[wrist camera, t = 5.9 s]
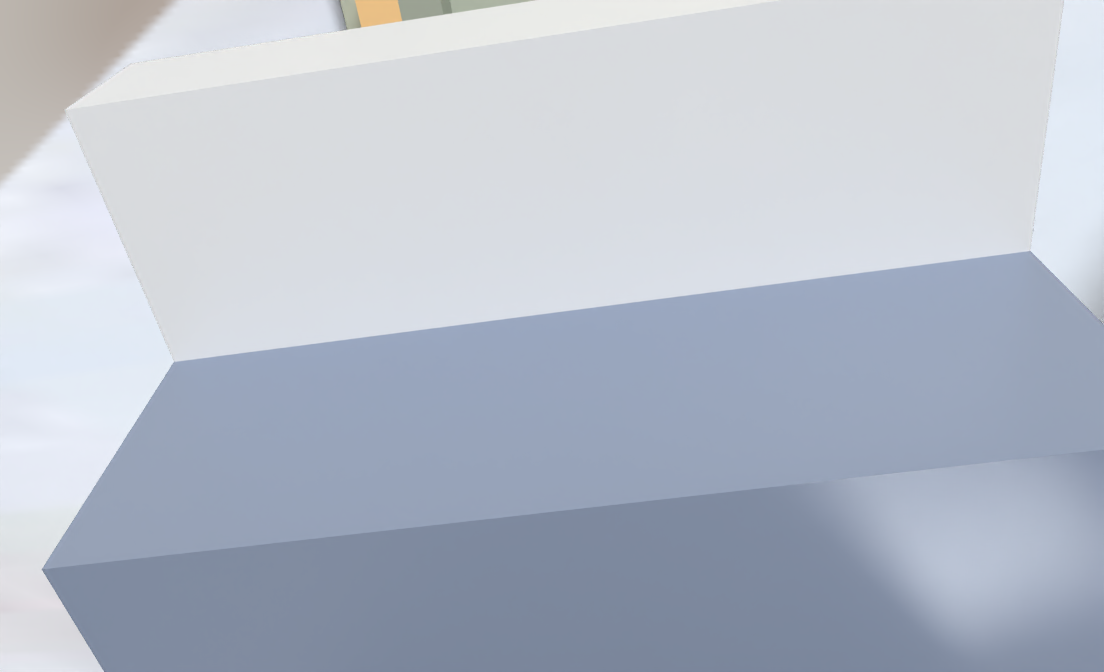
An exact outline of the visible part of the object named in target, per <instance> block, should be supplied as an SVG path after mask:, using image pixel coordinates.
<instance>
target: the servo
mask: <svg viewBox="0 0 1104 672" xmlns="http://www.w3.org/2000/svg"><path fill="white" fill-rule="evenodd" d="M1063 4H1064V0H534V1H528V2H522V3H515V4H509V5H502V6H496V7H490V8H483V9H477V10H470V11H464V12H458V13H451V14H445V15H438V16H432V17H426V18H419V19H413V20H407V21H400V22H394V23H387V24H381V25H375V26H368V27H362V28H355V29H349V30H343V31H336V32H330V33H323V34H317V35H311V36H304V37H298V38H291V39H285V40H279V41H272V42H266V43H259V44H253V45H247V46H240V47H234V48H227V49H221V50H215V51H208V52H202V53H195V54H189V55H183V56H176V57H170V58H163V59H157V60H151V61H144V62H138V63H131V64H130V65H128V66H127V67H125V68H124V69H122V70H121V71H120V72H118V73H117V74H115V75H114V76H112V77H111V78H109V79H108V80H107V81H105V82H104V83H102V84H101V85H99V86H98V87H97V88H95V89H94V90H92V91H91V92H89V93H88V94H87V95H85V96H84V97H82V98H81V99H79V100H78V101H77V102H75V103H74V104H72V105H71V106H69V107H68V108H67V109H65V112H66V114H67V117H68V119H69V121H70V124H71V126H72V128H73V130H74V133H75V135H76V137H77V140H78V142H79V144H80V147H81V149H82V151H83V153H84V156H85V158H86V160H87V163H88V165H89V167H90V170H91V172H92V174H93V176H94V179H95V181H96V183H97V186H98V188H99V190H100V193H101V195H102V197H103V199H104V202H105V204H106V206H107V209H108V211H109V213H110V216H111V218H112V220H113V222H114V225H115V227H116V229H117V232H118V234H119V236H120V239H121V241H122V243H123V245H124V248H125V250H126V252H127V255H128V257H129V259H130V262H131V264H132V266H133V268H134V271H135V273H136V275H137V278H138V280H139V282H140V285H141V287H142V289H143V291H144V294H145V296H146V298H147V301H148V303H149V305H150V308H151V310H152V312H153V314H154V317H155V319H156V321H157V324H158V326H159V328H160V331H161V333H162V335H163V337H164V340H165V342H166V344H167V347H168V349H169V351H170V354H171V356H172V358H173V360H174V363H173V365H172V366H171V368H170V369H169V371H168V372H167V374H166V375H165V377H164V379H163V380H162V382H161V383H160V385H159V386H158V388H157V390H156V391H155V393H154V394H153V396H152V397H151V399H150V401H149V402H148V404H147V405H146V407H145V408H144V410H143V412H142V413H141V415H140V416H139V418H138V419H137V421H136V423H135V424H134V426H133V427H132V429H131V430H130V432H129V434H128V435H127V437H126V438H125V440H124V441H123V443H122V445H121V446H120V448H119V449H118V451H117V452H116V454H115V455H114V457H113V459H112V460H111V462H110V463H109V465H108V466H107V468H106V470H105V471H104V473H103V474H102V476H101V477H100V479H99V481H98V482H97V484H96V485H95V487H94V488H93V490H92V492H91V493H90V495H89V496H88V498H87V499H86V501H85V503H84V504H83V506H82V507H81V509H80V510H79V512H78V514H77V515H76V517H75V518H74V520H73V521H72V523H71V524H70V526H69V528H68V529H67V531H66V532H65V534H64V535H63V537H62V539H61V540H60V542H59V543H58V545H57V546H56V548H55V550H54V551H53V553H52V554H51V556H50V557H49V559H48V561H47V562H46V564H45V565H44V567H43V568H42V570H43V572H44V574H45V575H46V577H47V579H48V580H49V582H50V584H51V585H52V587H53V588H54V590H55V592H56V593H57V595H58V597H59V598H60V600H61V602H62V603H63V605H64V607H65V608H66V610H67V611H68V613H69V615H70V616H71V618H72V620H73V621H74V623H75V625H76V626H77V628H78V629H79V631H80V633H81V634H82V636H83V638H84V639H85V641H86V643H87V644H88V646H89V647H90V649H91V651H92V652H93V654H94V656H95V657H96V659H97V661H98V662H99V664H100V666H101V667H102V669H103V670H104V672H1104V325H1103V324H1102V323H1101V322H1100V321H1099V320H1098V319H1097V318H1096V317H1095V316H1094V315H1093V314H1092V313H1091V312H1090V311H1089V310H1088V309H1087V308H1086V307H1085V306H1084V305H1083V304H1082V303H1081V302H1080V301H1079V300H1078V299H1077V298H1076V297H1075V296H1074V295H1073V294H1072V293H1071V292H1070V291H1069V290H1068V289H1067V288H1066V287H1065V286H1064V284H1063V283H1062V282H1061V281H1060V280H1059V279H1058V278H1057V277H1056V276H1055V275H1054V274H1053V273H1052V272H1051V271H1050V270H1049V269H1048V268H1047V267H1046V266H1045V265H1044V264H1043V263H1042V262H1041V261H1040V260H1039V259H1038V258H1037V257H1036V256H1035V255H1034V254H1033V253H1032V252H1031V251H1030V249H1031V241H1032V234H1033V226H1034V219H1035V212H1036V204H1037V197H1038V189H1039V182H1040V175H1041V167H1042V160H1043V152H1044V145H1045V138H1046V130H1047V123H1048V115H1049V108H1050V101H1051V93H1052V86H1053V78H1054V71H1055V63H1056V56H1057V49H1058V41H1059V34H1060V26H1061V19H1062V12H1063Z"/></svg>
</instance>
